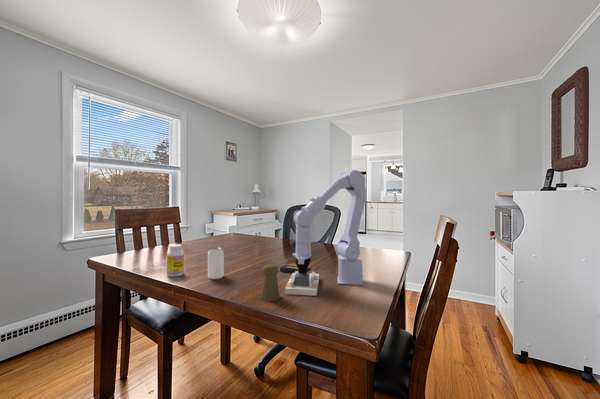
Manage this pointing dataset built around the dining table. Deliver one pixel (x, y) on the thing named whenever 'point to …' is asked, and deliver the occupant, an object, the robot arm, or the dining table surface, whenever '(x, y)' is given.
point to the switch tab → (302, 279)
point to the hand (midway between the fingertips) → (303, 278)
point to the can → (215, 263)
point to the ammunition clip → (290, 268)
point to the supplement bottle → (175, 261)
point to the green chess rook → (270, 283)
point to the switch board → (302, 286)
